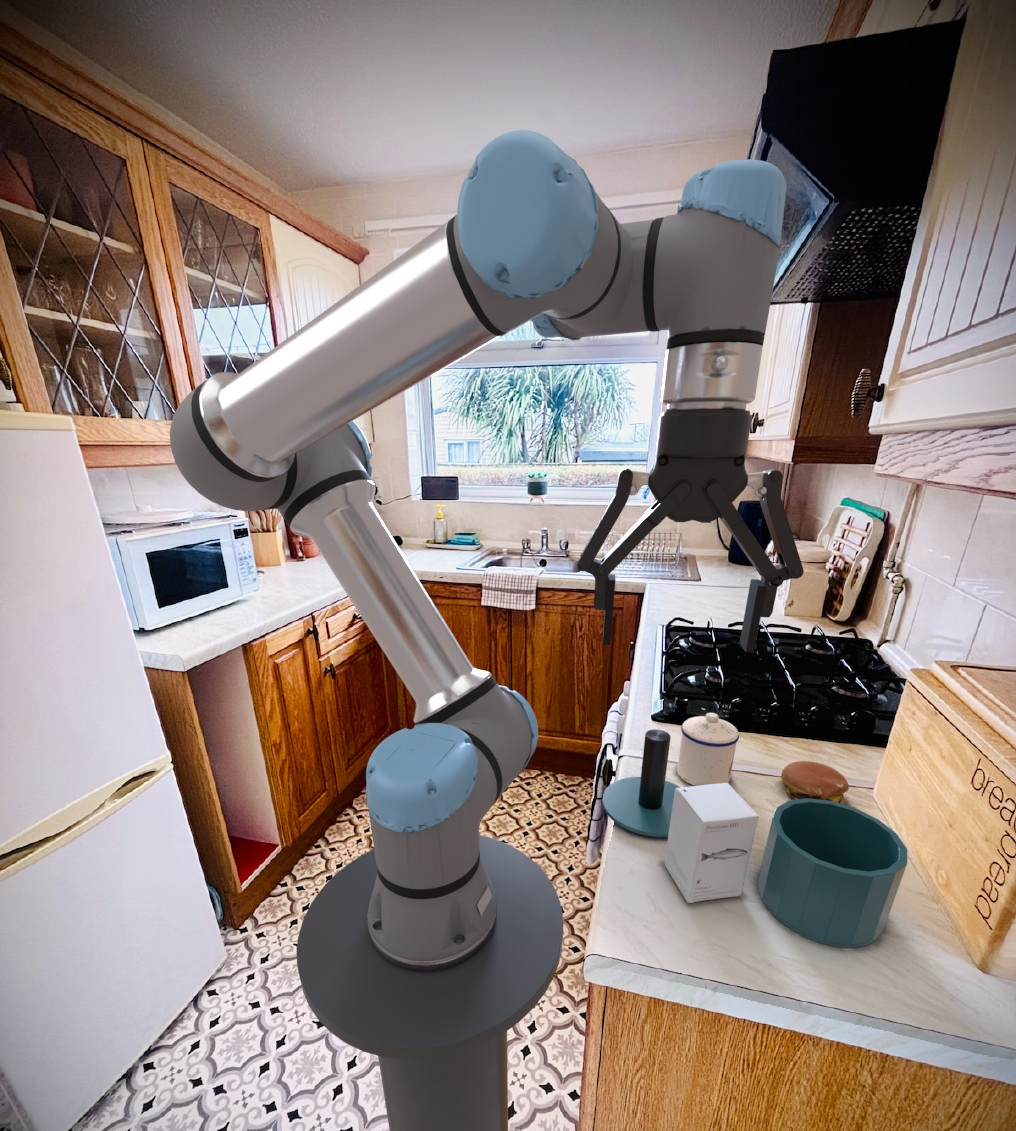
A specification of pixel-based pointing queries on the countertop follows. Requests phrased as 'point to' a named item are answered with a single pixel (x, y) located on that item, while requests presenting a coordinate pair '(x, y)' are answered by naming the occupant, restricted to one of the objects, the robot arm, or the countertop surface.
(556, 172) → the robot arm
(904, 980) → the countertop surface
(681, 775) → the teacup with lid
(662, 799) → the tin lid
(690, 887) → the white packaging box
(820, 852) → the tin
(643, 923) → the countertop surface
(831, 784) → the burger
